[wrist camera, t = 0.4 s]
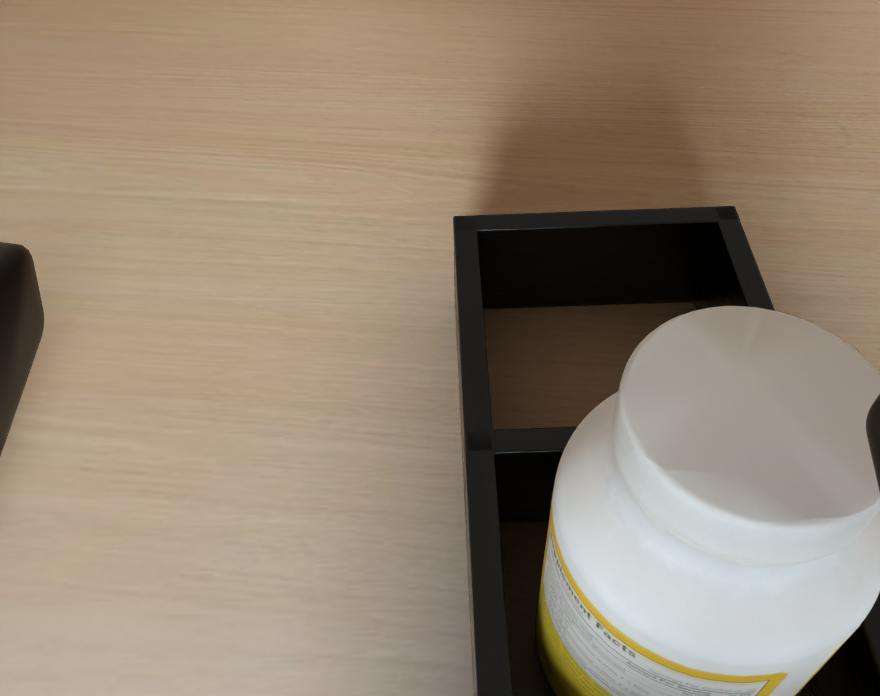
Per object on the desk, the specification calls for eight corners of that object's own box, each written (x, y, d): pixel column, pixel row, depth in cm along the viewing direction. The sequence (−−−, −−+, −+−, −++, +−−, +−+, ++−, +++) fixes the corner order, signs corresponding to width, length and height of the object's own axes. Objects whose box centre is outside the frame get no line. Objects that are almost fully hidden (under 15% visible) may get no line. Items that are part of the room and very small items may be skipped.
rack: (894, 852, 20) (972, 817, 17) (482, 865, 20) (484, 832, 17) (709, 285, 32) (734, 205, 29) (454, 295, 32) (453, 215, 29)
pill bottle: (731, 537, 25) (875, 256, 16) (807, 770, 21) (1058, 566, 12) (517, 553, 25) (543, 280, 16) (550, 791, 21) (610, 601, 12)
